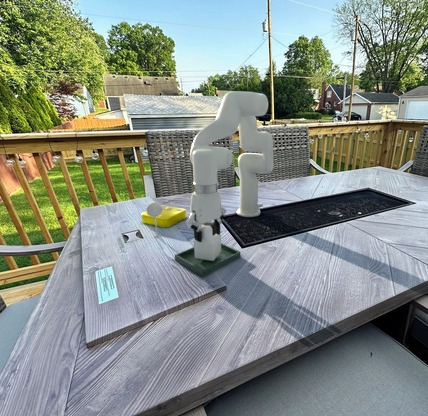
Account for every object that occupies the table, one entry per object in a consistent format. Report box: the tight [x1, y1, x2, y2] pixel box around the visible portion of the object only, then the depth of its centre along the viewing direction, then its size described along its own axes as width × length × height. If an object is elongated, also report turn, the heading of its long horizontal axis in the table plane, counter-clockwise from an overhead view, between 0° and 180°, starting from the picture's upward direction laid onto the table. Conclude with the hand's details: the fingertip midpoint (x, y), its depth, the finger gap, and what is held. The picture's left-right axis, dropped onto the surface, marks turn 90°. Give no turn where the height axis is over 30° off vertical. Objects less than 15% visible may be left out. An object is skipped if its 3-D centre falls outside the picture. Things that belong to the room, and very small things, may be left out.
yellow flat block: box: [141, 204, 187, 228], centre depth 124 cm, size 15×15×5 cm
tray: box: [174, 242, 242, 278], centre depth 94 cm, size 17×15×2 cm
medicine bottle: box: [193, 221, 222, 261], centre depth 92 cm, size 7×7×12 cm
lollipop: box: [145, 201, 162, 238], centre depth 105 cm, size 6×6×15 cm
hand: (207, 236), depth 91 cm, fingers closed on medicine bottle, 7 cm apart
